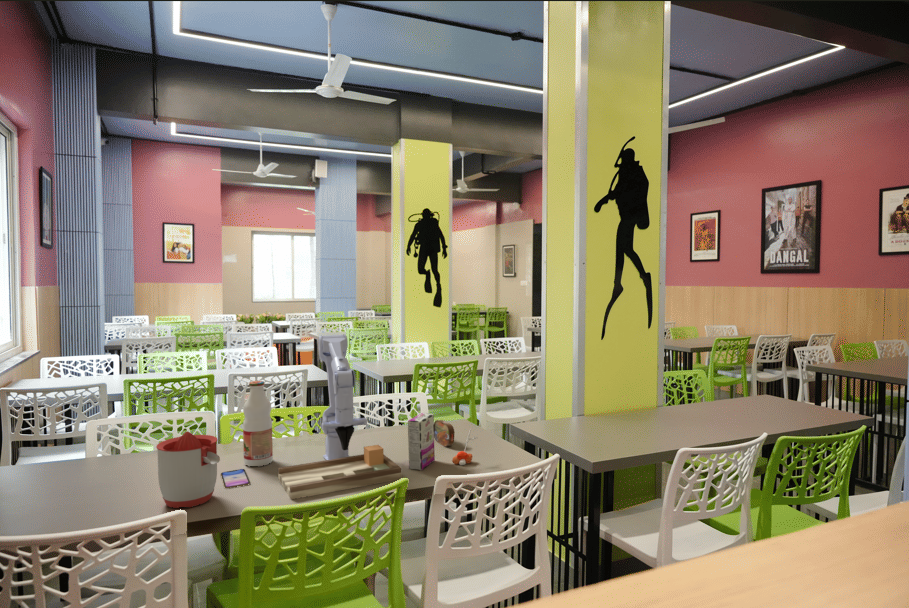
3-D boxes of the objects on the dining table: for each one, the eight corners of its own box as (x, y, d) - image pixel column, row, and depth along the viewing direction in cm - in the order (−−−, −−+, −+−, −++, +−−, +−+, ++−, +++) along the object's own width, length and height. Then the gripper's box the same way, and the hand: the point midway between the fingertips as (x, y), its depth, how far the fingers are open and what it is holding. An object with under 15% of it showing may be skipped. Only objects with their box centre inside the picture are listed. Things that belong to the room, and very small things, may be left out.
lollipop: (481, 464, 187) (481, 429, 186) (454, 467, 184) (454, 431, 184) (475, 459, 193) (475, 424, 192) (449, 461, 190) (449, 427, 189)
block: (364, 461, 184) (363, 446, 184) (378, 459, 187) (378, 444, 186) (369, 466, 180) (368, 450, 180) (383, 463, 182) (383, 448, 182)
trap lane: (278, 478, 174) (278, 467, 174) (380, 461, 190) (380, 451, 190) (290, 499, 157) (290, 487, 157) (401, 478, 173) (401, 467, 173)
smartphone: (224, 490, 166) (224, 487, 166) (219, 475, 179) (219, 471, 179) (251, 486, 169) (251, 482, 169) (244, 471, 183) (244, 468, 183)
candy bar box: (421, 459, 193) (421, 412, 192) (435, 460, 191) (434, 413, 190) (407, 469, 182) (407, 420, 182) (421, 471, 181) (421, 421, 180)
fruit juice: (264, 468, 185) (262, 384, 184) (238, 466, 186) (236, 384, 185) (277, 459, 194) (276, 379, 193) (252, 457, 195) (250, 379, 194)
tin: (432, 439, 218) (432, 417, 217) (439, 438, 219) (439, 417, 219) (448, 449, 204) (448, 426, 204) (456, 448, 205) (455, 425, 205)
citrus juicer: (197, 516, 147) (195, 441, 146) (144, 509, 152) (142, 437, 151) (235, 494, 162) (234, 426, 161) (186, 488, 167) (184, 422, 166)
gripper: (325, 412, 171) (325, 456, 172) (369, 407, 178) (370, 449, 178) (319, 408, 177) (320, 450, 178) (362, 403, 184) (363, 443, 185)
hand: (344, 449), depth 179 cm, fingers closed
